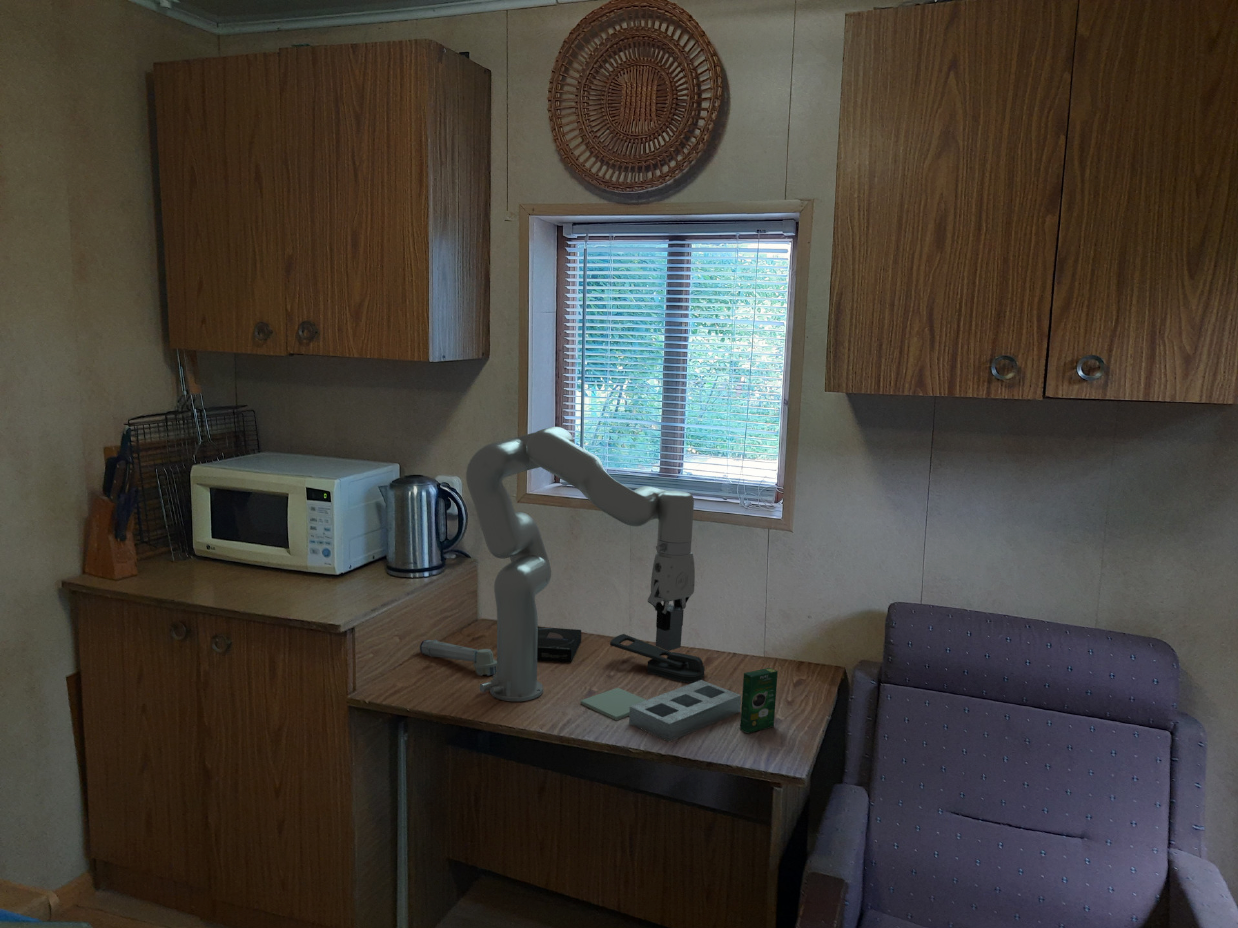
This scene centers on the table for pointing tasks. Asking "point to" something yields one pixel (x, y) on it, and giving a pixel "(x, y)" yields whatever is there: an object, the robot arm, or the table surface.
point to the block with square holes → (684, 710)
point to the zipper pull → (664, 660)
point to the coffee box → (758, 700)
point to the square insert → (671, 630)
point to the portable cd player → (557, 644)
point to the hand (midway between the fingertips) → (669, 626)
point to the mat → (613, 703)
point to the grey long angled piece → (461, 655)
